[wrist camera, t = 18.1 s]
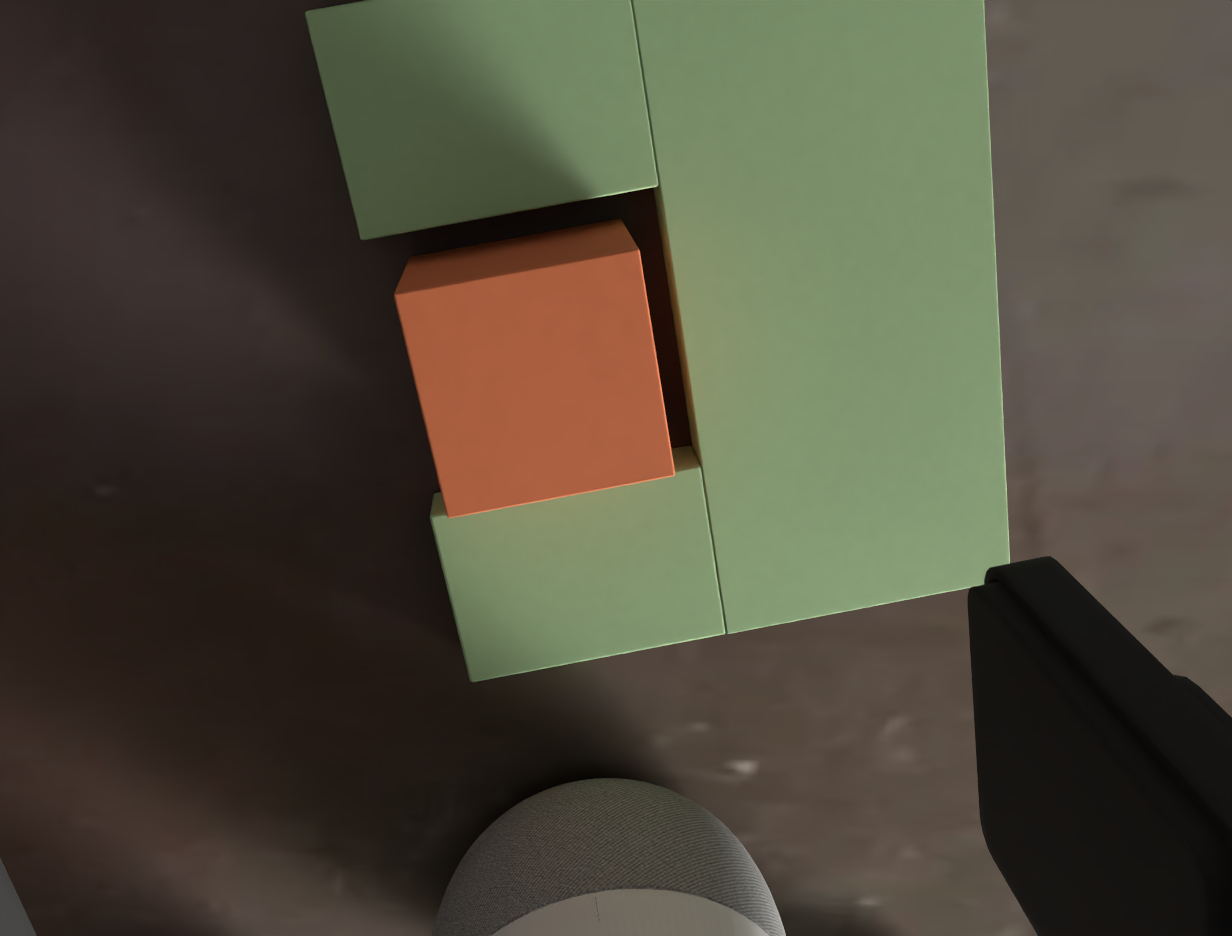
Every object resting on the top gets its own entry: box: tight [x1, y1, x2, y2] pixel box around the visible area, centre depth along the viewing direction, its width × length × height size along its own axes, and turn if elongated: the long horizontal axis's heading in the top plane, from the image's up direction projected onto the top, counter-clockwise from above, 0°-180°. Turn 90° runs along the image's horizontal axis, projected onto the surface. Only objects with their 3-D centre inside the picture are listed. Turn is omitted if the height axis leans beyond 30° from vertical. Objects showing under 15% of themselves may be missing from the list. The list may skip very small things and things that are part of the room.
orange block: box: [394, 219, 675, 518], centre depth 26 cm, size 5×5×4 cm
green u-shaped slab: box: [305, 0, 1010, 682], centre depth 27 cm, size 16×14×2 cm
